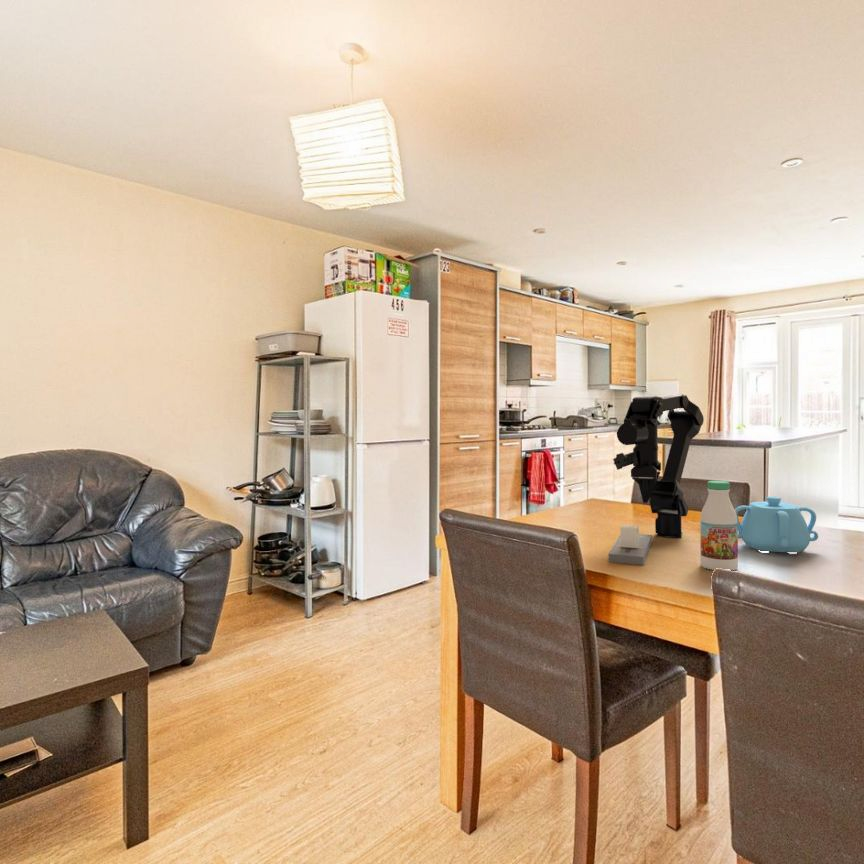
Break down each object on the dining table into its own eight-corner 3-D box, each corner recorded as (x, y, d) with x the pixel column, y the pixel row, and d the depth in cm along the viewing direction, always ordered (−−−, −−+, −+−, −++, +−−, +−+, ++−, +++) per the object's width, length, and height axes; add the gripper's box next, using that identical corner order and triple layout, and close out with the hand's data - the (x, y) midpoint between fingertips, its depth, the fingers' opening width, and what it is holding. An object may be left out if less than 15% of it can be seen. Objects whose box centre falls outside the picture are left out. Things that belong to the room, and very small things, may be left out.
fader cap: (638, 545, 141) (638, 525, 141) (637, 548, 139) (637, 528, 138) (622, 544, 143) (621, 524, 143) (620, 546, 140) (620, 527, 140)
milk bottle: (693, 563, 132) (693, 480, 131) (724, 562, 133) (724, 478, 132) (712, 573, 124) (712, 484, 123) (745, 571, 125) (745, 483, 124)
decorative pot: (827, 553, 138) (828, 499, 137) (781, 561, 132) (782, 504, 131) (767, 539, 153) (767, 490, 152) (723, 546, 147) (723, 495, 147)
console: (651, 542, 153) (651, 534, 153) (643, 565, 132) (643, 556, 132) (621, 539, 157) (621, 532, 157) (608, 561, 135) (608, 553, 135)
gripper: (619, 440, 163) (620, 493, 163) (610, 445, 146) (611, 504, 147) (660, 440, 158) (661, 495, 159) (655, 445, 141) (656, 506, 142)
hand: (646, 499), depth 152 cm, fingers open, 9 cm apart
